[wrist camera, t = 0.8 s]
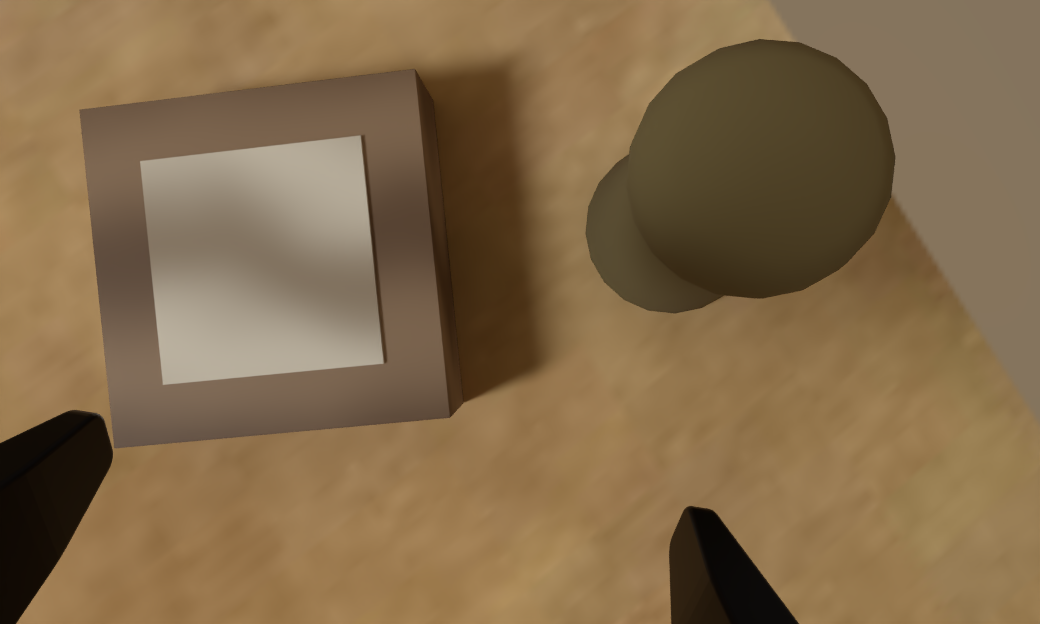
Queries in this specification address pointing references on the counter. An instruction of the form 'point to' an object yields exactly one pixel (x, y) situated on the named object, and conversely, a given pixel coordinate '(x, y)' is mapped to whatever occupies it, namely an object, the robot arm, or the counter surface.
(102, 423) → the robot arm
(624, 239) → the olive green peg figure
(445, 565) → the counter surface
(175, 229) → the walnut plinth
